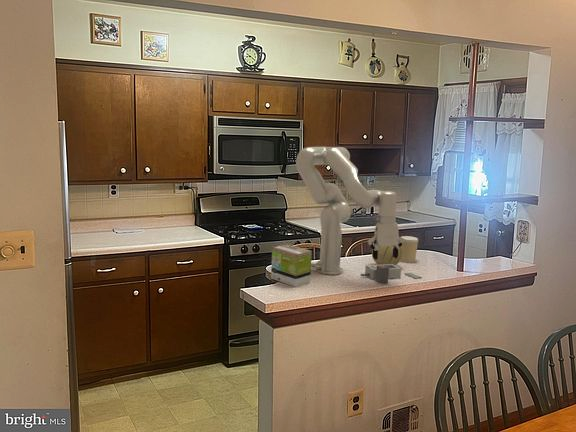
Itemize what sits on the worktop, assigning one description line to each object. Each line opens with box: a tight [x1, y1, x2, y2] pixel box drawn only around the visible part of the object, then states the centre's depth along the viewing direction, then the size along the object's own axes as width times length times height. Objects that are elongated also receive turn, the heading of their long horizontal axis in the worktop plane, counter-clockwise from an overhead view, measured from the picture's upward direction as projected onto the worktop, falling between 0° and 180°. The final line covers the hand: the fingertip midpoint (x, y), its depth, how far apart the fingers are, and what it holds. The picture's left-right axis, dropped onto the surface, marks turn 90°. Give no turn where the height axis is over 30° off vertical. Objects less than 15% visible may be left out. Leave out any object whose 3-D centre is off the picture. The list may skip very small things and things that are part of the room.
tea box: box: [270, 244, 313, 288], centre depth 234 cm, size 15×10×15 cm, turn 47°
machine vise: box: [360, 264, 402, 281], centre depth 247 cm, size 18×8×5 cm, turn 107°
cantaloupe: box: [371, 246, 402, 266], centre depth 263 cm, size 15×15×15 cm
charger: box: [375, 265, 389, 284], centre depth 238 cm, size 4×4×7 cm
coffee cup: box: [400, 235, 419, 263], centre depth 277 cm, size 9×9×12 cm
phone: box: [403, 272, 422, 280], centre depth 250 cm, size 4×8×1 cm, turn 26°
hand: (385, 258), depth 237 cm, fingers open, 9 cm apart
